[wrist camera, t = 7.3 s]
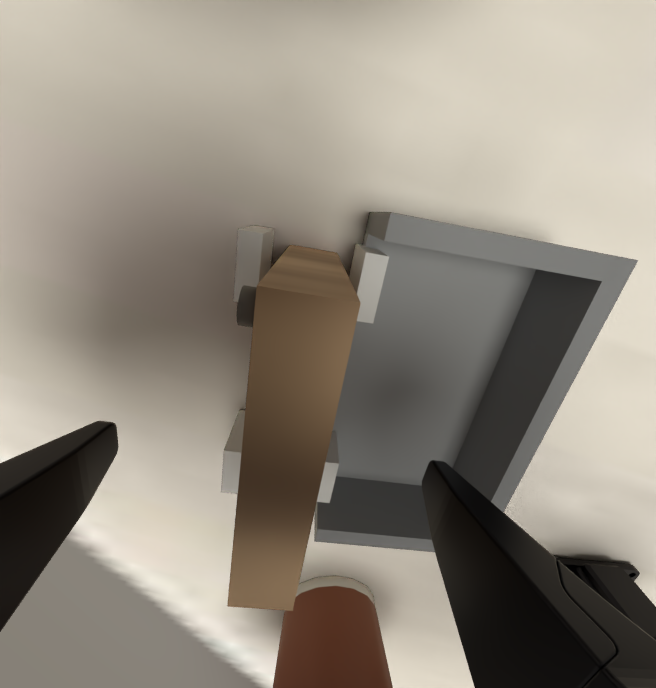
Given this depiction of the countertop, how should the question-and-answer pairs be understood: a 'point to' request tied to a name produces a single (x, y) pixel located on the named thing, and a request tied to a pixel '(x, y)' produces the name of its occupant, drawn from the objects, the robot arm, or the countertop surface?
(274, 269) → the door
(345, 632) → the coffee cup
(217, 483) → the countertop surface
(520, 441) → the carcass
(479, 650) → the robot arm
